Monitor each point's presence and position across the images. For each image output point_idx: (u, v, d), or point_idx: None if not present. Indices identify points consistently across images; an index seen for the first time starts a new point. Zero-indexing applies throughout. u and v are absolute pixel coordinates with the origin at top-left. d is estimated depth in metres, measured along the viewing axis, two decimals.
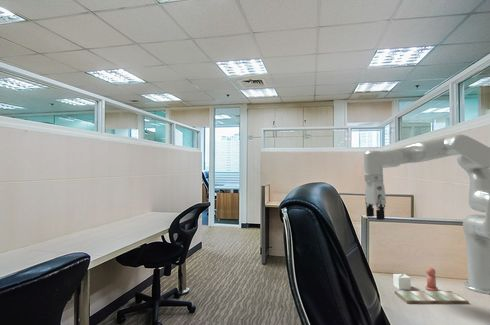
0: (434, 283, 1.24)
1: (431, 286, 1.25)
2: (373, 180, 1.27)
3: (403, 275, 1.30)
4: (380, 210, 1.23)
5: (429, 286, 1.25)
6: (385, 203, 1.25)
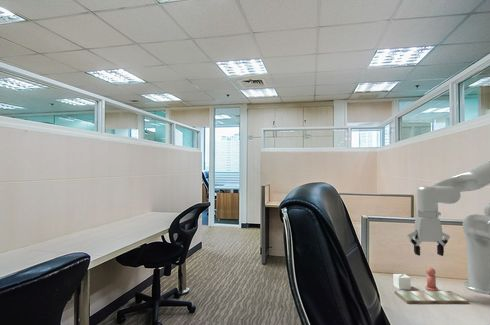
0: (434, 283, 1.24)
1: (431, 286, 1.25)
2: None
3: (403, 275, 1.30)
4: None
5: (429, 286, 1.25)
6: None
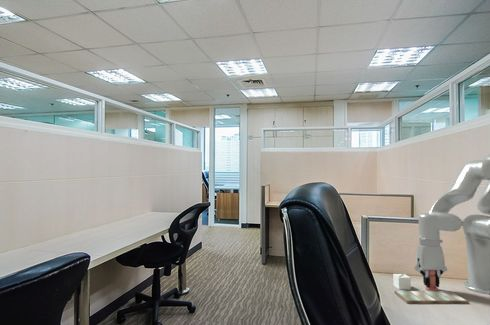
0: (434, 283, 1.24)
1: (431, 286, 1.25)
2: (439, 244, 1.25)
3: (403, 275, 1.30)
4: None
5: None
6: None
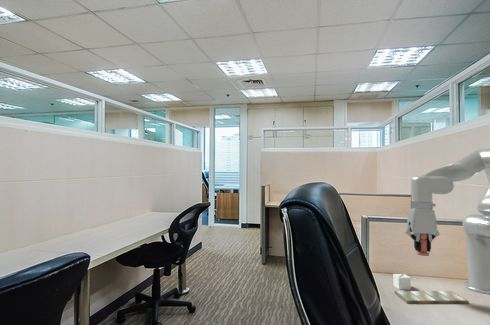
0: (425, 247, 1.20)
1: (422, 250, 1.20)
2: (432, 208, 1.20)
3: (403, 275, 1.30)
4: None
5: (420, 251, 1.20)
6: None
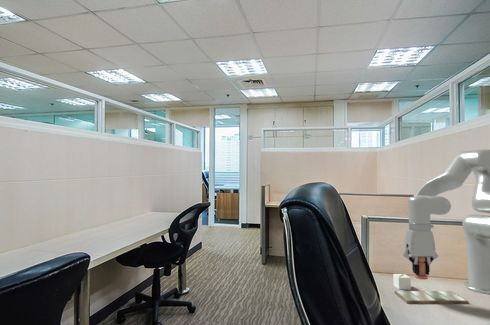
0: (424, 270, 1.16)
1: (420, 274, 1.16)
2: (430, 229, 1.17)
3: (403, 275, 1.30)
4: None
5: None
6: None
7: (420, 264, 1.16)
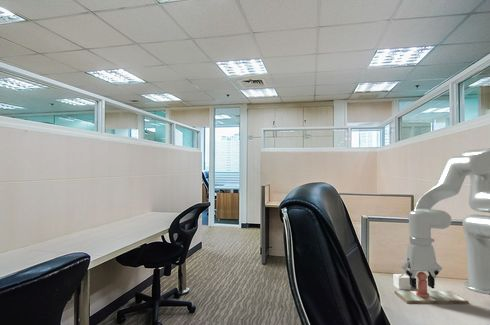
0: (425, 288, 1.16)
1: (422, 292, 1.16)
2: None
3: (403, 275, 1.30)
4: None
5: (420, 292, 1.16)
6: None
7: (421, 282, 1.16)
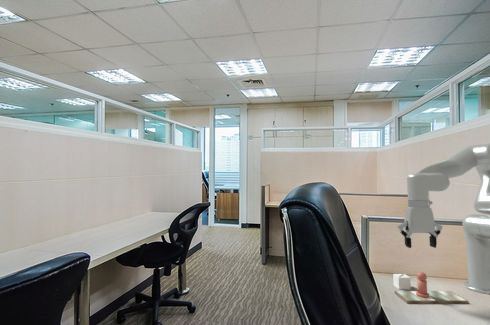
0: (425, 289, 1.16)
1: (422, 292, 1.16)
2: (429, 206, 1.17)
3: (403, 275, 1.30)
4: None
5: (420, 292, 1.16)
6: None
7: (421, 282, 1.16)
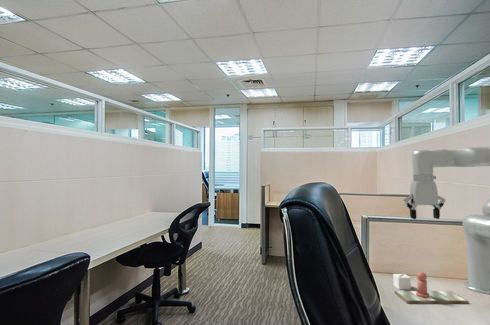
0: (425, 289, 1.16)
1: (422, 292, 1.16)
2: None
3: (403, 275, 1.30)
4: None
5: (420, 292, 1.16)
6: None
7: (421, 282, 1.16)
